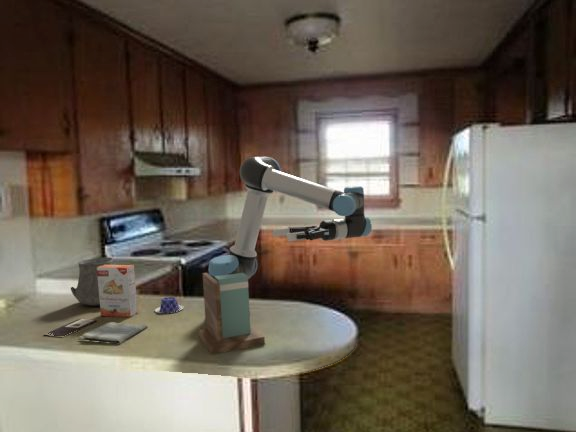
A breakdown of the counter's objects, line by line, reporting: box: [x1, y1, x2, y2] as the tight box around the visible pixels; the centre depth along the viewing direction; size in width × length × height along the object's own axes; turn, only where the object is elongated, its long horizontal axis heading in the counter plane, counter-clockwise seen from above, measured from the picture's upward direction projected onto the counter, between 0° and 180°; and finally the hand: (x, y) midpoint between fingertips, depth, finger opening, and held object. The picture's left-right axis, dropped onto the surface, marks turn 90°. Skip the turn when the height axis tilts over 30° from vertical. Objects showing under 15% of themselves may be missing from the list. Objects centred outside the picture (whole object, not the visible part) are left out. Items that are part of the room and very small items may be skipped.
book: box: [215, 273, 251, 338], centre depth 159 cm, size 5×10×20 cm, turn 113°
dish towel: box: [78, 321, 148, 345], centre depth 172 cm, size 19×18×3 cm
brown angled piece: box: [198, 272, 266, 356], centre depth 160 cm, size 18×18×22 cm
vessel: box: [70, 256, 114, 307], centre depth 213 cm, size 22×22×20 cm
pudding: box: [154, 296, 185, 314], centre depth 199 cm, size 12×12×5 cm
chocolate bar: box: [47, 318, 98, 336], centre depth 181 cm, size 9×1×18 cm
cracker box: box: [97, 264, 139, 318], centre depth 194 cm, size 14×6×21 cm, turn 76°
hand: (279, 235), depth 168 cm, fingers open, 13 cm apart
